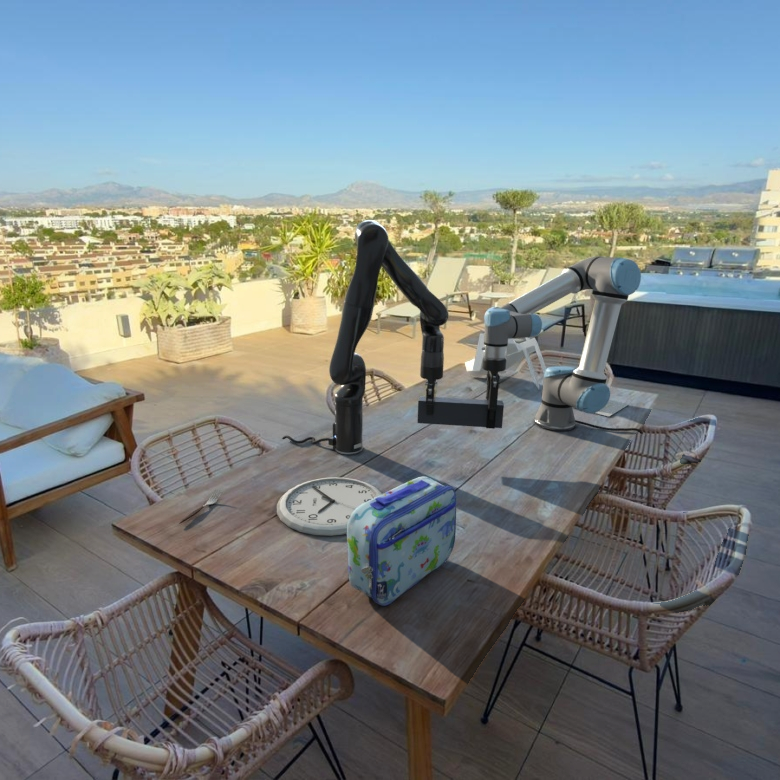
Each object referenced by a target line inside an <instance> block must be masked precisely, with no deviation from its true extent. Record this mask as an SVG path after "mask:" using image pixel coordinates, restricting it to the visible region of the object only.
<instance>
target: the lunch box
mask: <svg viewBox="0 0 780 780" xmlns="http://www.w3.org/2000/svg"><path fill="white" fill-rule="evenodd" d="M456 524H457V494H456V490H455V488H454V487H453V486H451V485H444V484H441V483H440V482H438V481H436V480H434V479H432V478H431V477H428V476H422V475H421V476H419V477H416V478H413V479H411V480H408V481H407V482H404V483H402V484H400V485H398V486H396V487H394V488H392V489H390V490H388V491H386V492H383V494H381V495H380V496H378V497H376V498H374V499H372V500H370V501H368V502H365V503H363V504H362V505H360V506H358V507H357V508H356V509H355V510H354V511H353V513H352V514H351V516H350V518H349V521H348V525H347V534H346V545H347V546H346V548H347V570H348V572H347V573H348V581H349V583H350V585H351V587H353V588H354V589H356V590H358V591H361V592H362V593H364V594H365V595H366V596H368V597H369V598H371V599H372V601H373V602H374V603H375V604H378V605H379V606H383V607H386V606H388V605H390V604H392V603H394V601H396V600H397V599H398V598H399V597H400V596H402V595H403V594H404V593H406V592H407V591H408V590H410V589H411V588H413V587H414V586H415V585H417V584H418V583H419V582H421V580H422V579H424V577H426V576H427V575H430V573H432V572H434V571H435V570H436V569H438V568H440V567H441V566H442V565H444V563H446V562H447V561H448V559H449V558H450V556H451V554H452V552H453V549H454V546H455V542H456V529H457V525H456Z"/></svg>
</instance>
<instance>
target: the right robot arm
mask: <svg viewBox="0 0 780 780" xmlns="http://www.w3.org/2000/svg"><path fill="white" fill-rule="evenodd" d="M641 281H642V273H641V268H640V267H639V265H638V264H637V262H635V261H634V260H633V259H630V258H624V257H612V256H601V255H599V256H598V255H597V256H591V257H588V258H584V259H582V260H579V261H578V262H576V263H574V264H572V265H570V266H568V267H566V268H564V269H563V270H562V271H561V274H559V275H557V276H555V277H554V278H552V279H550V280H548V281H545V282H544V283H543V284H541V285H539V286H537V287H535V288H533V289H532V290H530V291H527V292H526V293H524V294H523V295H521V296H519V297H517V298H515V299H513V300H512V301H510V302H508V303H506V304H504V305H502V306H500V307H499V306H492V307H489V308H487V310H486V311H485V313H484V316H483V319H484V332H483V333H484V347H482V350H484V351H483V356H484V358H483V362H482V368H483V369H484V370H486V371H488V372H487V373H488V374H487V375H486V394H485V400H489V402H488V408H486V410H487V422H486V427H485V428H486V429H496V428H495V416H496V410H497V400H498V398H499V397H498V396H499V390H500V389H499V388H500V381H501V376H500V375H499V374H498V372H500V371H504V370H505V369H506V359H505V358H506V357H507V348H508V339H511V338H513V339H523V338H525V339H526V337H528V338H529V337H530V338H535V337H537V336H539V335H540V333H541V332H542V329H543V321H542V318H541V317H540V315H538V314H537V312H539V311H541V310H543V309H545V308H547V307H548V306H550V305H552V304H554V303H555V302H558V301H559V300H561V299H563V298H564V297H566V296H568V295H570V294H572V295H573V294H578V293H579V292H582V291H588V290H592V293H591V296H592V298H593V300H594V304H593V308H592V311H591V316H590V320H589V324H588V328H587V332H586V336H585V341H584V344H583V348H582V352H581V355H580V361H579V365H578V367H577V368H576V367H574V366H566V365H565V366H564V365H562V366H561V365H559V366H558V365H557V366H549V367H546V370H545V374H544V373H543V381H542V392H541V402H540V405H539V407H538V410H537V411H536V413H535V416H534V424H535V425H536V426H537V427H539V428H542V429H544V430H549V431H556V432H567V431H572V430H574V429H575V428H576V424H578V425H579V424H580V425H583V426H588V427H591V428H595V429H599V430H604V431H612V432H631V431H633V432H638V433H639V434H641V435H643V434H644V432H643V431H642V430H641V429H639V428H636V427H618V428H617V427H616V428H615V427H614V428H613V427H605V426H600V425H596V424H592V423H588V422H585V421H581V420H578V419H576V418H575V417H576V416H575V413H574V409H575V410H578V411H579V412H583V413H586V414H591V415H592V414H596V412H598V411H600V410H601V409H603V408H604V407H605V405H606V404H607V403H608V401H609V400H610V399H611V398H610V397H611V390H610V387H609V386H608V385H607V384H606V383H607V380H608V376H607V375H606V374H605V369H606V365H607V363H608V362H607V361H608V358H609V354H610V351H611V347H612V342H613V338H614V334H615V330H616V327H617V323H618V319H619V316H620V312H621V308H622V305H623V304H625V303H626V302H628V299H629V296H630V295H633V294H634V293H635V292H636V291H638V289H639V287H640V284H641ZM505 371H506V370H505Z"/></svg>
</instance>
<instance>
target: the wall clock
mask: <svg viewBox="0 0 780 780" xmlns="http://www.w3.org/2000/svg"><path fill="white" fill-rule="evenodd" d="M381 494H384V492H382V491H381V490H380V489H379V488H377V487H376V486H374V485H372V484H371V483H369V482H365V481H362V480H359V479H355V478H349V477H338V476H337V477H335V476H333V477H332V476H331V477H322V478H317V479H312V480H307V481H305V482H302V483H299V484H297V485H295V486H293V487H292V488H290V489H288V490H287V491H286V492H285V493H284V494H283V495H281V496H280V498H279V499H278V502H277V503H276V515H277V517H278V518H279V520H280V521H281V522H282V523H283V524H285V525H286V526H287V527H288V528H290V529H293V530H295V531H297V532H299V533H303V534H308V535H312V536H327V537H328V536H329V537H331V536H332V537H333V536H342V535H347V525H348V521H349V518H350V516H351V514H352V513H353V511H354V510H355V509H356V508H357V507H358V506H360V505H362V504H363V503H365V502H368V501H370V500H372V499H374V498H376V497H378V496H380V495H381Z"/></svg>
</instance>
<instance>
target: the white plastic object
mask: <svg viewBox="0 0 780 780" xmlns="http://www.w3.org/2000/svg"><path fill="white" fill-rule="evenodd" d="M484 333H485V332H483V333H482V332H480V333H479V336H478V341H477V346H476V351H475V355H474V358H473V359H471V360H468V361H465V362H464V365H465V370H466V372H467V374H468V375H469V377H471V378H472V377H481V376H487V374H488V373H487V372H488V371H486V370H484V369H483V368H482V362H483V358H484V356H483V351H484V350H482V347H484ZM535 352H536V355H537V359H538V362H539V364H540V367H541V370H542V373H543V375H544V374H545V370H546V369H547V366H546V364H545V363H546V362H545V360H544V358H543V355H542V351H541V348H540V345H539V343H538V341H537V339H536V338H535V337H529V338H528V337H526V338H525V341H522V342H519V343H518V342H516V340H515V338H511V339H508V348H507V357H506V358H505V359H506V369H505V370H504V371H500V372H498V374H499V376H500V375H502V374H505V373H506V372H507V370H508V369H509V368H511V367H512V366H513V365H515V364H517V363H518V362H520V361H521V360H522V359H523V358H524V357H525V360H526V363H527V367H528V370H529V372H530V376H531V379H532V382H533V384H534V386H535V387H536V388H537V389H538V390H540V383H539V380H538V377H537V374H536V371H535V368H534V365H533V361H532V359H531V356H530V354H533V353H535Z"/></svg>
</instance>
